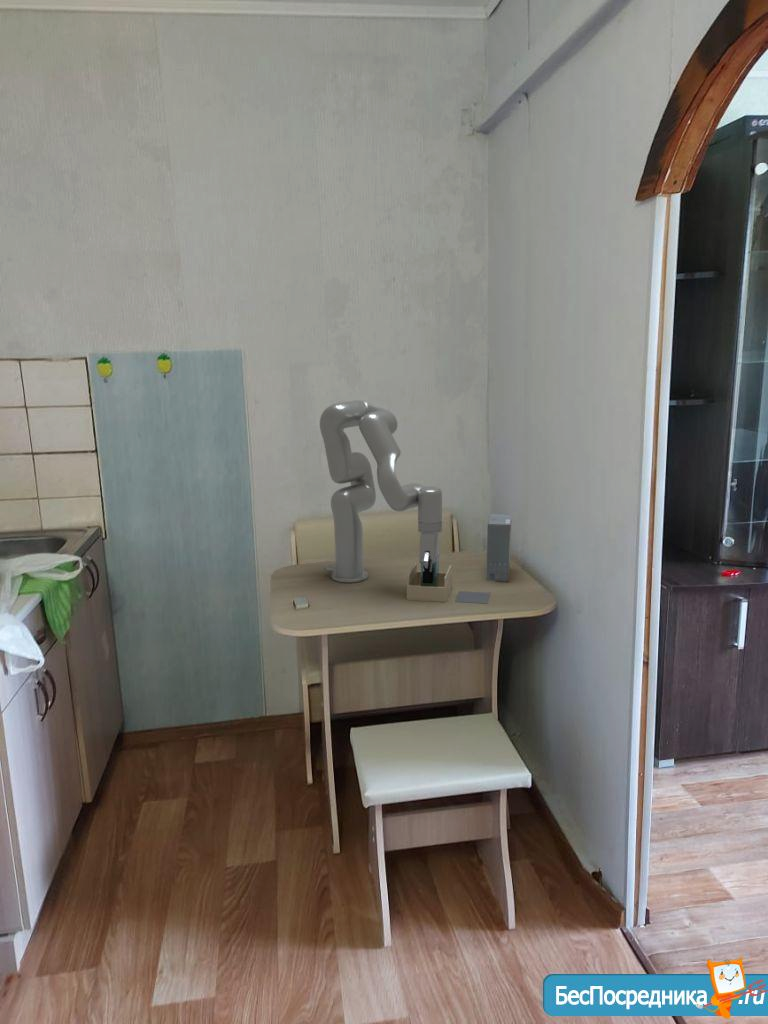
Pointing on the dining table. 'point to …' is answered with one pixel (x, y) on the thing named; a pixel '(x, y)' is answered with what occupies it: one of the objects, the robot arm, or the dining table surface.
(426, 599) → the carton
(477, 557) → the dining table surface
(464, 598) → the mat
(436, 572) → the tin
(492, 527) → the hard drive box
